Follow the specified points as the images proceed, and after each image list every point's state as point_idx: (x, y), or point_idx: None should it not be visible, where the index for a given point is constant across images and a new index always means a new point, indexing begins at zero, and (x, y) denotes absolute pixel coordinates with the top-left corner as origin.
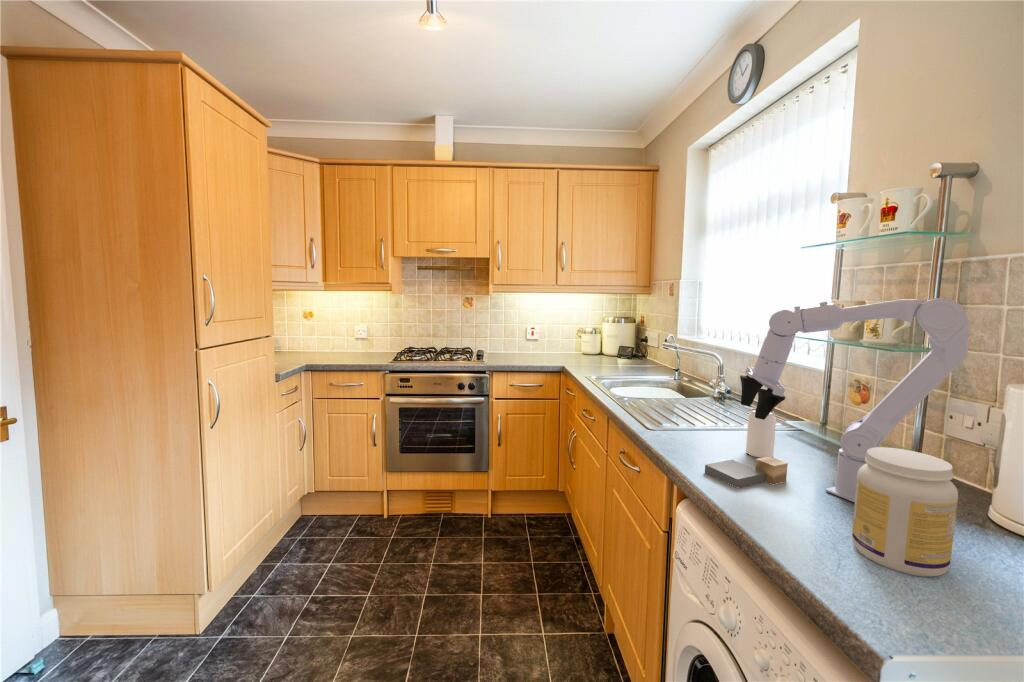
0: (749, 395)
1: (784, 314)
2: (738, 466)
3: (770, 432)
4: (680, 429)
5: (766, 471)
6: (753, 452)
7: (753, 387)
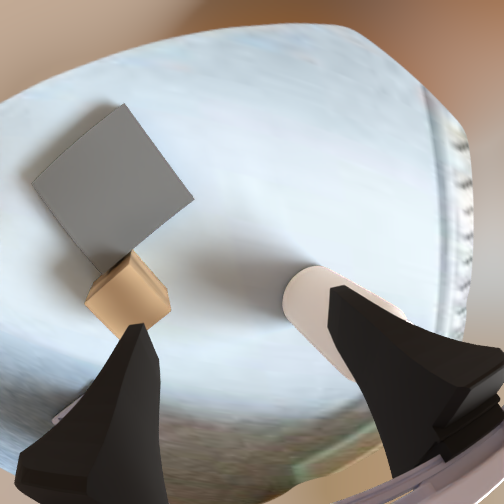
0: (361, 356)
1: None
2: (134, 206)
3: (319, 348)
4: (438, 142)
5: (104, 279)
6: (295, 281)
7: (391, 409)
